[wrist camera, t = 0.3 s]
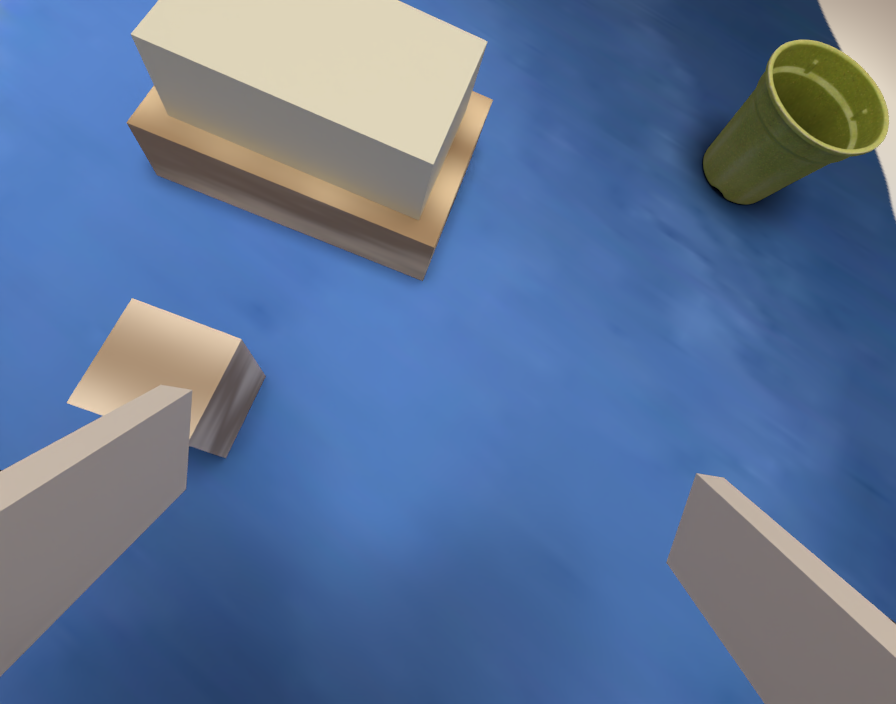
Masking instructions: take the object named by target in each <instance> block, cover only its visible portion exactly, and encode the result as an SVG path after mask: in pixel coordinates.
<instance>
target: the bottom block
mask: <svg viewBox="0 0 896 704" xmlns="http://www.w3.org/2000/svg"><path fill="white" fill-rule="evenodd" d="M492 101H493V100H492V99H490V98H487V97H485V96H483V95H480V94H478V93H476V92H474V91H472V93H471V97H470V100H469V103H468V106H467V110H466V112H465V114H464V117H463V119H462V121H461V124H460V126H459V128H458V131H457V133H456V135H455V138H454V140H453V142H452V145H451V147H450V149H449V152H448V154H447V156H446V158H445V161H444V163H443V165H442V168H441V170H440V172H439V175H438V177H437V179H436V182H435V184H434V186H433V189H432V191H431V193H430V196H429V198H428V200H427V203H426V205H425V207H424V209H423V212H422V214H421V216H420V219H419V220H416V219H414V218H412V217H409V216H407V215H404V214H402V213H400V212H397V211H395V210H392V209H390V208H388V207H385V206H383V205H381V204H378V203H376V202H373V201H371V200H369V199H366V198H364V197H362V196H359V195H357V194H354V193H352V192H350V191H347V190H345V189H342V188H340V187H338V186H335V185H333V184H331V183H328V182H326V181H323V180H321V179H319V178H316V177H314V176H311V175H309V174H307V173H304V172H302V171H300V170H297V169H295V168H292V167H290V166H288V165H285V164H283V163H280V162H278V161H276V160H273V159H271V158H269V157H266V156H264V155H261V154H259V153H257V152H254V151H252V150H249V149H247V148H245V147H242V146H240V145H238V144H235V143H233V142H230V141H228V140H226V139H223V138H221V137H218V136H216V135H214V134H211V133H209V132H207V131H204V130H202V129H199V128H197V127H195V126H192V125H190V124H187V123H185V122H183V121H180V120H178V119H176V118H173V117H171V116H168V114H167V112H166V110H165V107H164V105H163V103H162V101H161V99H160V97H159V94H158V92H157V90H156V88H155V86H153V88H152V89H151V90H150V92H149V93H148V94H147V96H146V97H145V99H144V100H143V101H142V103H141V104H140V105H139V107H138V108H137V109H136V111H135V112H134V113H133V115H132V116H131V117H130V119H129V120H128V122H127V124H128V126H129V128H130V129H131V131H132V133H133V135H134V136H135V138H136V140H137V141H138V143H139V145H140V147H141V148H142V150H143V152H144V153H145V155H146V157H147V159H148V160H149V162H150V164H151V166H152V167H153V169H154V171H155V172H156V174H157V175H158V176H161V177H163V178H166V179H168V180H171V181H173V182H176V183H178V184H181V185H183V186H186V187H188V188H191V189H193V190H196V191H198V192H201V193H203V194H206V195H208V196H211V197H213V198H216V199H218V200H221V201H223V202H226V203H228V204H231V205H233V206H236V207H238V208H241V209H243V210H246V211H248V212H251V213H253V214H256V215H258V216H261V217H263V218H266V219H268V220H271V221H273V222H276V223H278V224H281V225H283V226H286V227H288V228H291V229H293V230H296V231H299V232H301V233H304V234H306V235H309V236H311V237H314V238H316V239H319V240H321V241H324V242H326V243H329V244H331V245H334V246H336V247H339V248H341V249H344V250H346V251H349V252H351V253H354V254H356V255H359V256H361V257H364V258H366V259H369V260H371V261H374V262H376V263H379V264H381V265H384V266H386V267H389V268H391V269H394V270H396V271H399V272H401V273H404V274H406V275H409V276H411V277H414V278H416V279H419V280H421V281H423V279H424V277H425V274H426V271H427V269H428V266H429V264H430V261H431V259H432V256H433V254H434V251H435V249H436V246H437V244H438V241H439V238H440V236H441V233H442V231H443V228H444V226H445V223H446V221H447V218H448V216H449V213H450V210H451V208H452V205H453V203H454V200H455V198H456V195H457V193H458V190H459V188H460V185H461V183H462V180H463V177H464V175H465V172H466V170H467V167H468V165H469V162H470V160H471V157H472V155H473V152H474V149H475V147H476V144H477V142H478V139H479V136H480V133H481V131H482V128H483V125H484V123H485V120H486V117H487V114H488V112H489V109H490V106H491V104H492Z"/></svg>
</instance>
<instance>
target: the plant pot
mask: <svg viewBox="0 0 896 704" xmlns="http://www.w3.org/2000/svg"><path fill="white" fill-rule="evenodd" d="M888 125H889V116H888V109H887V105H886V102H885V100H884V97H883V95H882V93H881V91H880V89H879V88H878V86H877V85H876V83H875V82H874V80H873V79H872V78H871V77H870V76H869V74H868V73H867V72H866V71H865V70H864V69H863V68H862V67H861V66H860V65H859V64H858V63H857V62H856V61H854V60H853V59H852V58H850V57H849V56H848V55H846V54H845V53H843V52H841V51H840V50H838V49H836V48H834V47H832V46H830V45H827V44H824V43H822V42H818V41H812V40H795V41H791V42H787V43H785V44H783V45H781V46H780V47H779V48H778V49H777V50H776V51H775V52H774V53H773V54H772V56H771V57H770V59H769V61H768V63H767V67H766V71H765V72H764V74H763V75H762V77H761V78H760V80H759V82H758V85H757V87H756V89H755V90H754V91H753V93H752V94H751V95H750V96H749V98H748V99H747V100H746V102H745V103H744V104H743V105H742V107H741V108H740V109H739V110H738V112H737V113H736V114H735V115H734V117H733V118H732V119H731V120H730V122H729V123H728V124H727V125H726V127H725V128H724V129H723V130H722V132H721V133H720V134H719V135H718V136H717V138H716V139H715V140H714V141H713V143H712V144H711V145H710V147H709V148H708V149H707V151H706V153H705V155H704V159H703V168H704V172H705V175H706V177H707V179H708V181H709V183H710V184H711V185H712V186H714V187H716V188H718V189H719V190H720V191H721V193H722V194H723V196H724V198H726V199H727V200H729V201H732V202H734V203H738V204H752V203H756V202H758V201H760V200H762V199H764V198H765V197H767V196H769V195H771V194H773V193H775V192H777V191H778V190H780V189H782V188H784V187H786V186H788V185H789V184H791V183H793V182H795V181H797V180H799V179H801V178H803V177H805V176H807V175H808V174H810V173H812V172H814V171H816V170H818V169H820V168H822V167H824V166H826V165H828V164H830V163H834V162H838V161H841V160H844V159H846V158H848V157H850V156H857V155H862V154H865V153H868V152H870V151H872V150H874V149H875V148H876V147H878V146H879V145H880V144H881V143H882V142H883V141H884V139H885V137H886V135H887V132H888Z"/></svg>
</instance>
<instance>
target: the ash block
mask: <svg viewBox="0 0 896 704" xmlns="http://www.w3.org/2000/svg"><path fill="white" fill-rule="evenodd" d="M265 377H266V376H265V374H264V373H263V371H262V370H261V368H260V367H259V365H258V364H257V362H256V361H255V359H254V358H253V356H252V354H251V353H250V351H249V350H248V348H247V347H246V345H245V344H244V342H243V341H242V339H240V338H237V337H234V336H232V335H229V334H226V333H224V332H221V331H218V330H216V329H213V328H210V327H208V326H205V325H202V324H200V323H197V322H194V321H192V320H189V319H186V318H184V317H181V316H178V315H176V314H173V313H170V312H168V311H165V310H162V309H159V308H157V307H154V306H151V305H149V304H146V303H143V302H141V301H138V300H135V299H133V298H132V299H131V301H130V302H129V304H128V306H127V307H126V309H125V310H124V312H123V314H122V315H121V317H120V318H119V320H118V322H117V323H116V325H115V326H114V328H113V330H112V331H111V333H110V334H109V336H108V338H107V339H106V341H105V342H104V344H103V346H102V347H101V349H100V350H99V352H98V354H97V355H96V357H95V358H94V360H93V362H92V363H91V365H90V366H89V368H88V370H87V371H86V373H85V374H84V376H83V378H82V379H81V381H80V382H79V384H78V385H77V387H76V389H75V390H74V392H73V393H72V395H71V397H70V398H69V400H68V401H67V403H68V404H71V405H74V406H77V407H80V408H83V409H85V410H88V411H91V412H94V413H97V414H100V415H103V416H104V415H106V414H108V413H110V412H111V411H113V410H115V409H117V408H119V407H121V406H123V405H124V404H126V403H128V402H130V401H132V400H134V399H135V398H137V397H139V396H141V395H143V394H145V393H147V392H148V391H150V390H152V389H154V388H156V387H158V386H160V385H166V386H172V387H178V388H184V389H190V390H192V405H191V420H190V435H189V446H191V447H194V448H197V449H200V450H203V451H206V452H209V453H212V454H215V455H218V456H220V457H223V458H226V457H227V455H228V453H229V451H230V449H231V447H232V444H233V442H234V440H235V438H236V436H237V434H238V432H239V430H240V428H241V426H242V424H243V422H244V420H245V418H246V416H247V414H248V412H249V409H250V407H251V405H252V403H253V401H254V399H255V397H256V395H257V393H258V391H259V389H260V387H261V385H262V383H263V381H264V379H265Z"/></svg>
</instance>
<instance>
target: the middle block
mask: <svg viewBox="0 0 896 704" xmlns="http://www.w3.org/2000/svg"><path fill="white" fill-rule="evenodd" d="M131 36H132V38H133V40H134V42H135V45H136V47H137V49H138V51H139V53H140V55H141V58H142V60H143V62H144V64H145V66H146V68H147V71H148V73H149V75H150V77H151V79H152V81H153V84H154V86H155V88H156V90H157V92H158V94H159V97H160V99H161V101H162V103H163V105H164V107H165V110H166V112H167V114H168V116H171V117H173V118H176V119H178V120H180V121H183V122H185V123H187V124H190V125H192V126H195V127H197V128H199V129H202V130H204V131H207V132H209V133H211V134H214V135H216V136H218V137H221V138H223V139H226V140H228V141H230V142H233V143H235V144H238V145H240V146H242V147H245V148H247V149H249V150H252V151H254V152H257V153H259V154H261V155H264V156H266V157H269V158H271V159H273V160H276V161H278V162H280V163H283V164H285V165H288V166H290V167H292V168H295V169H297V170H300V171H302V172H304V173H307V174H309V175H311V176H314V177H316V178H319V179H321V180H323V181H326V182H328V183H331V184H333V185H335V186H338V187H340V188H342V189H345V190H347V191H350V192H352V193H354V194H357V195H359V196H362V197H364V198H366V199H369V200H371V201H373V202H376V203H378V204H381V205H383V206H385V207H388V208H390V209H392V210H395V211H397V212H400V213H402V214H404V215H407V216H409V217H412V218H414V219H416V220H419V219H420V216H421V214H422V212H423V209H424V207H425V205H426V203H427V200H428V198H429V196H430V193H431V191H432V189H433V186H434V184H435V182H436V179H437V177H438V175H439V172H440V170H441V168H442V165H443V163H444V161H445V158H446V156H447V154H448V152H449V149H450V147H451V145H452V142H453V140H454V138H455V135H456V133H457V131H458V128H459V126H460V124H461V121H462V119H463V117H464V114H465V112H466V110H467V106H468V103H469V100H470V97H471V93H472V90H473V87H474V84H475V80H476V77H477V74H478V71H479V67H480V64H481V61H482V58H483V55H484V51H485V48H486V45H487V41H485V40H483V39H481V38H479V37H477V36H474V35H472V34H470V33H468V32H466V31H464V30H461V29H459V28H457V27H455V26H453V25H450V24H448V23H446V22H444V21H442V20H440V19H437V18H435V17H433V16H431V15H429V14H426V13H424V12H422V11H420V10H418V9H416V8H413V7H411V6H409V5H407V4H405V3H402V2H400V1H398V0H158V2H157V3H156V4H155V5H154V7H153V8H152V9H151V10H150V11H149V13H148V14H147V15H146V16H145V17H144V19H143V20H142V21H141V22H140V24H139V25H138V26H137V27H136V28H135V30H134V31H133V32H132V33H131Z"/></svg>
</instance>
